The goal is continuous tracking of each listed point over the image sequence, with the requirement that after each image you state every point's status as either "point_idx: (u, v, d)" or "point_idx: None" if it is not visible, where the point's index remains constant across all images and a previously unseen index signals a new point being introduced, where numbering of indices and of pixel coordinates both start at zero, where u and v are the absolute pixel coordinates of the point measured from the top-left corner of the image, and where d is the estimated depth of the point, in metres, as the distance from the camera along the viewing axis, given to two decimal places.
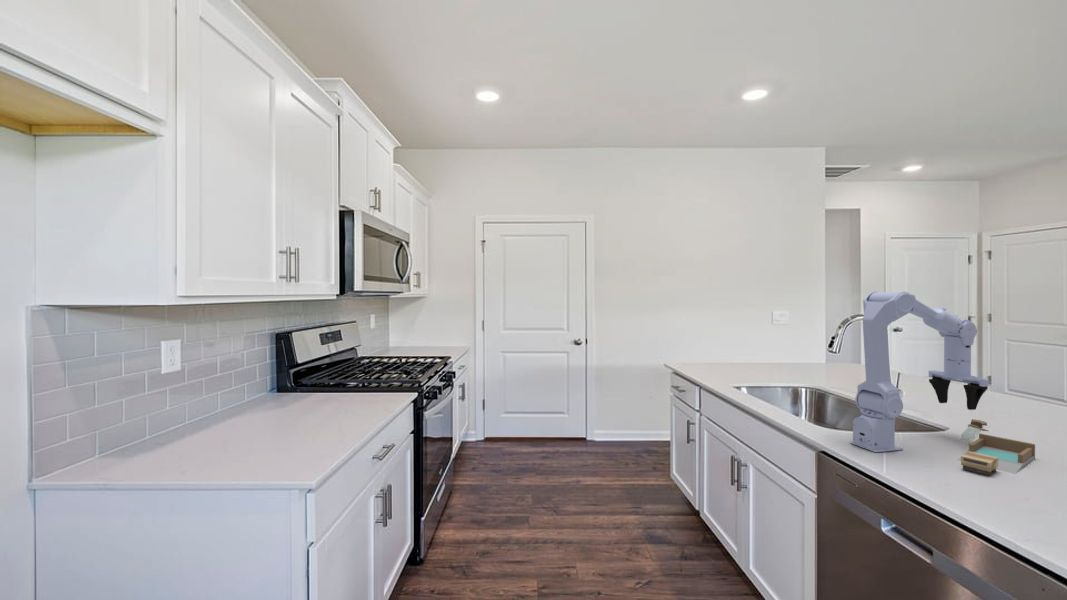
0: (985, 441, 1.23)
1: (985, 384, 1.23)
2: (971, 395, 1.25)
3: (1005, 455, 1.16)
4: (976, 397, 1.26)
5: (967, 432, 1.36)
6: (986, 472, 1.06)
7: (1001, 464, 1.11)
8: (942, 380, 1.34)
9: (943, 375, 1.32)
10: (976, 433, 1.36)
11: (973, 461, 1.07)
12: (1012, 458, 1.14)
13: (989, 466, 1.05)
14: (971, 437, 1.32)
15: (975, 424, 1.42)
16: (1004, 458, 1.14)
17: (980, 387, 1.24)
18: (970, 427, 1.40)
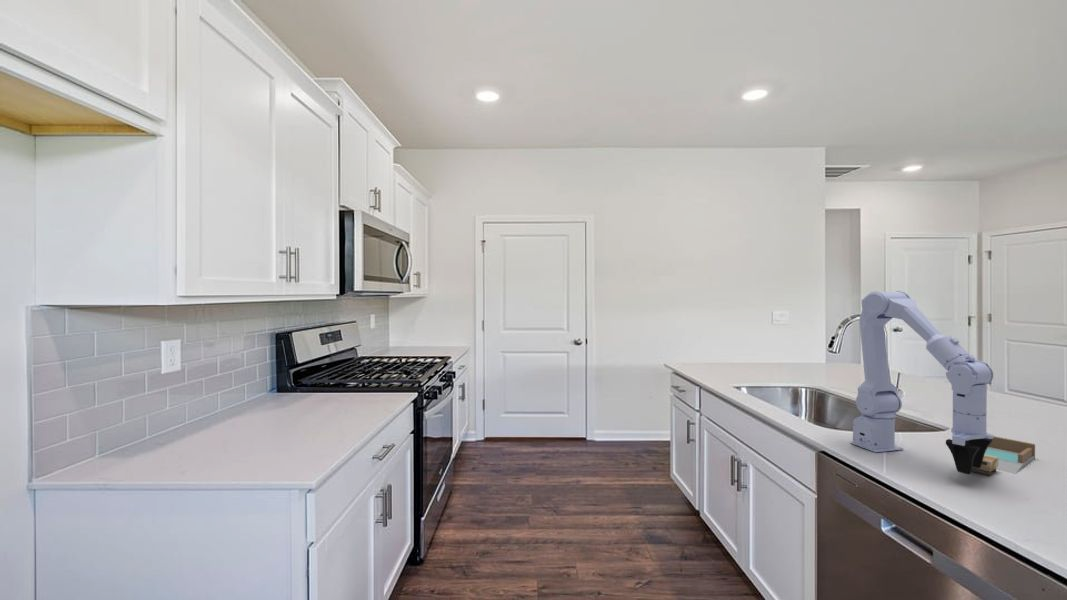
0: None
1: (957, 442, 1.01)
2: (951, 452, 1.04)
3: (1005, 455, 1.16)
4: (968, 459, 1.02)
5: None
6: (986, 472, 1.06)
7: (1001, 464, 1.11)
8: None
9: None
10: None
11: None
12: (1012, 458, 1.14)
13: (989, 466, 1.05)
14: None
15: None
16: (1004, 458, 1.14)
17: (958, 445, 1.02)
18: None
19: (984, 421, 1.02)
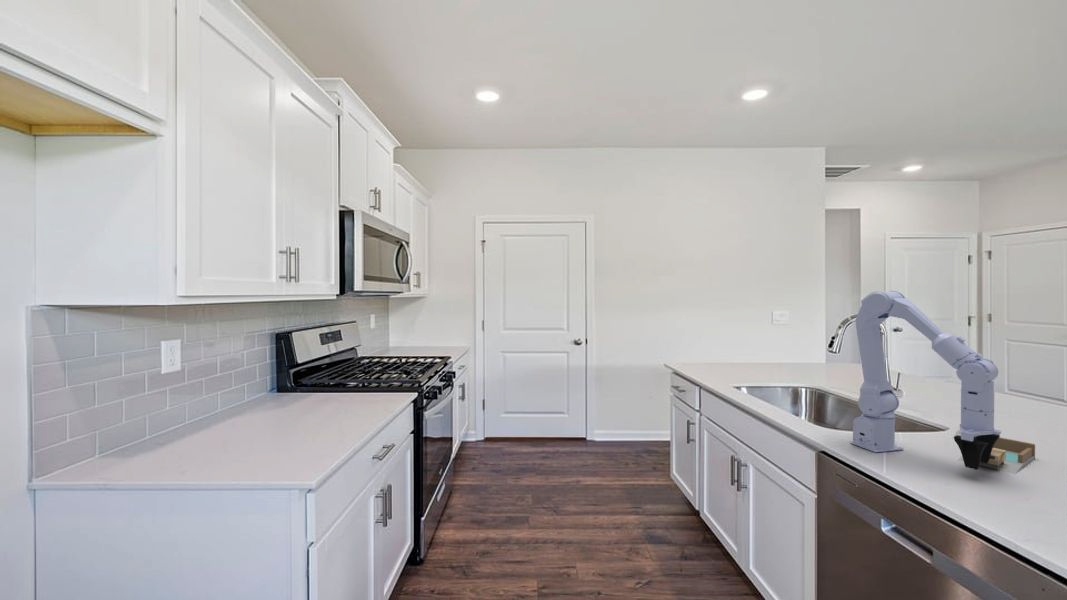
0: None
1: (965, 438, 1.04)
2: None
3: None
4: (976, 455, 1.05)
5: None
6: (994, 465, 1.09)
7: (1001, 464, 1.11)
8: None
9: None
10: None
11: None
12: (1012, 458, 1.14)
13: (997, 460, 1.08)
14: None
15: None
16: None
17: (967, 441, 1.05)
18: None
19: (992, 417, 1.05)
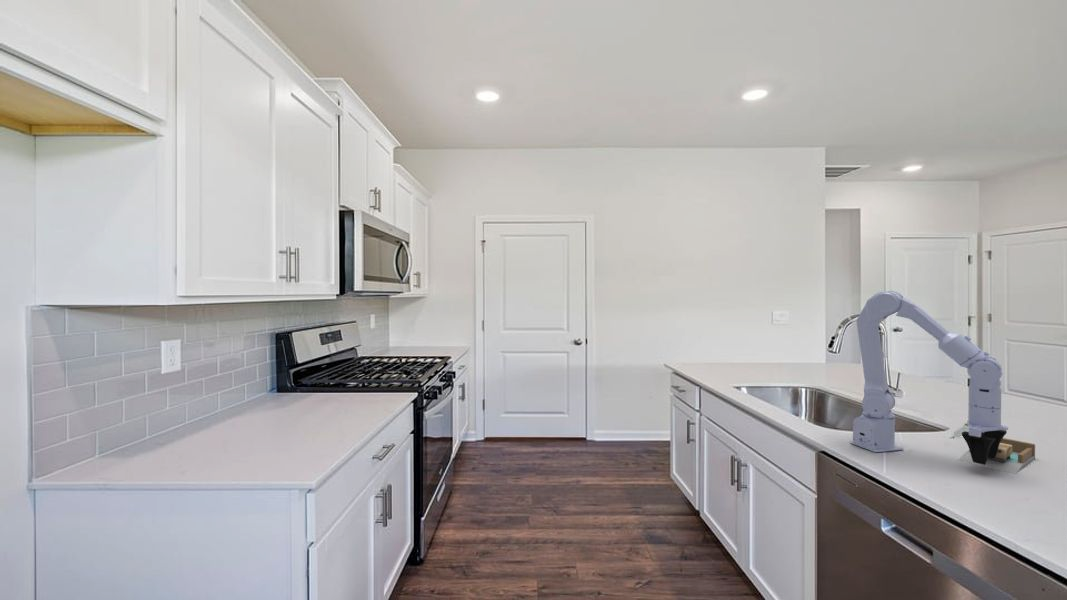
0: None
1: (973, 433, 1.07)
2: (967, 444, 1.10)
3: None
4: (983, 450, 1.08)
5: (960, 430, 1.38)
6: (1001, 459, 1.12)
7: (1001, 464, 1.11)
8: None
9: None
10: None
11: None
12: (1012, 458, 1.14)
13: (1004, 453, 1.11)
14: None
15: None
16: None
17: (974, 437, 1.08)
18: (966, 426, 1.41)
19: (999, 414, 1.08)
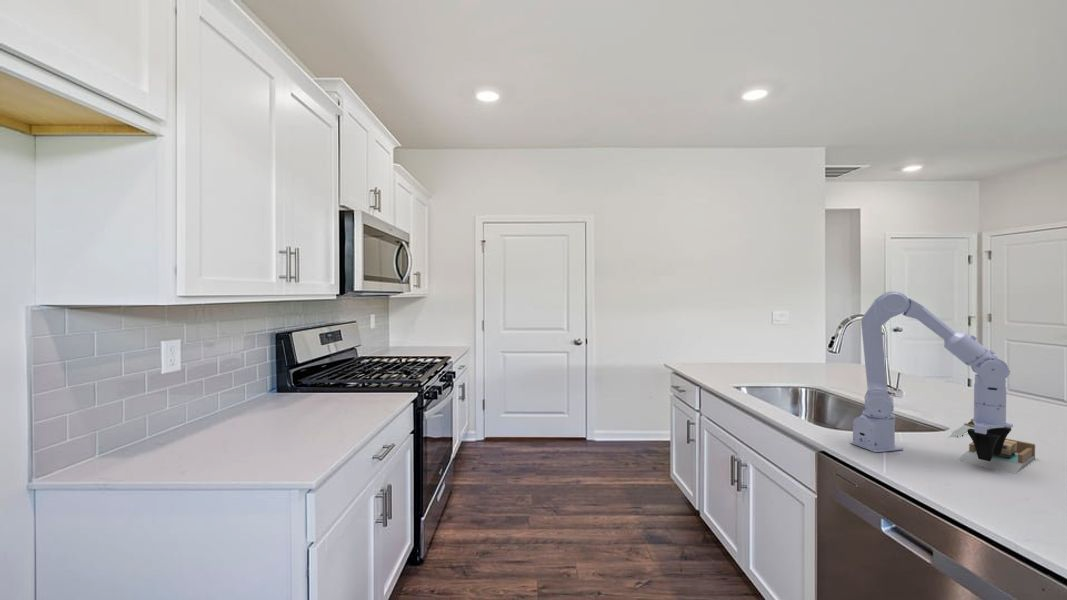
0: None
1: (979, 431, 1.09)
2: (973, 441, 1.12)
3: None
4: (988, 447, 1.10)
5: (959, 430, 1.38)
6: (1006, 455, 1.14)
7: (1001, 464, 1.11)
8: None
9: None
10: None
11: None
12: (1012, 458, 1.14)
13: (1009, 449, 1.13)
14: None
15: (972, 423, 1.43)
16: (1004, 458, 1.14)
17: (980, 434, 1.10)
18: (965, 426, 1.42)
19: (1004, 411, 1.10)
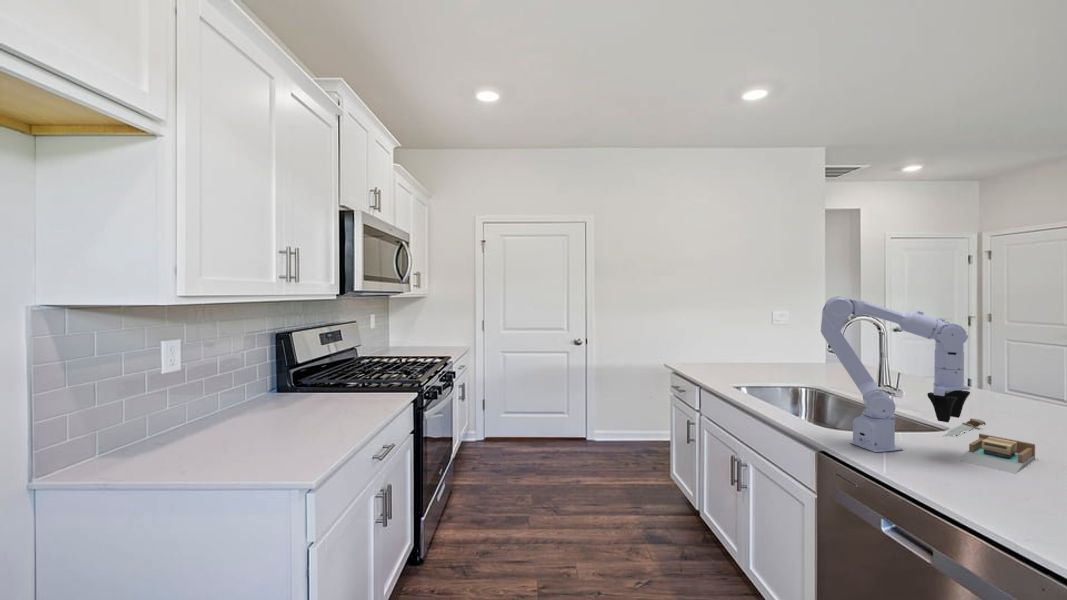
0: None
1: (937, 393, 1.14)
2: None
3: None
4: (946, 409, 1.15)
5: (956, 429, 1.39)
6: (1006, 455, 1.14)
7: (1001, 464, 1.11)
8: (952, 391, 1.20)
9: None
10: (966, 430, 1.38)
11: (993, 445, 1.15)
12: (1012, 458, 1.14)
13: (1009, 449, 1.13)
14: (956, 433, 1.36)
15: (970, 423, 1.44)
16: (1004, 458, 1.14)
17: (938, 396, 1.15)
18: (963, 425, 1.42)
19: (962, 375, 1.15)
